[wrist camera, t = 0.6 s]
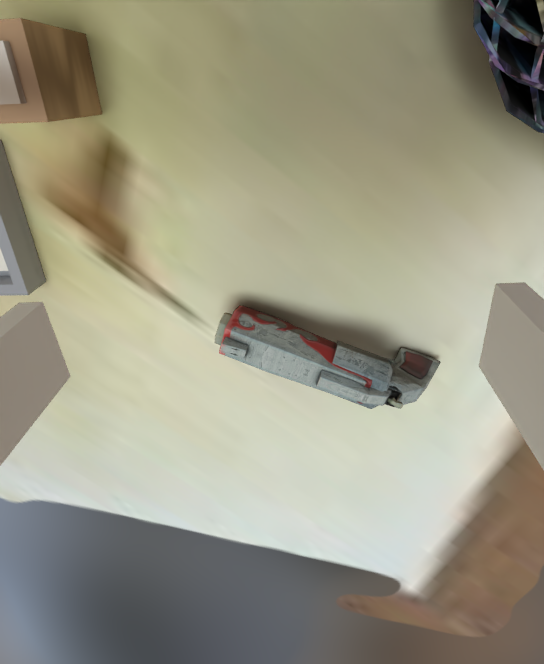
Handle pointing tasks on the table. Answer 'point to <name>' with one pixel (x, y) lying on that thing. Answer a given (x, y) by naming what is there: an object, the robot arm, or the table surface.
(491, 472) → the table surface
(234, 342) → the toy gun
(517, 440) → the table surface
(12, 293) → the chassis bay
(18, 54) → the walnut block
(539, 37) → the decorative bowl
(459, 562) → the table surface
